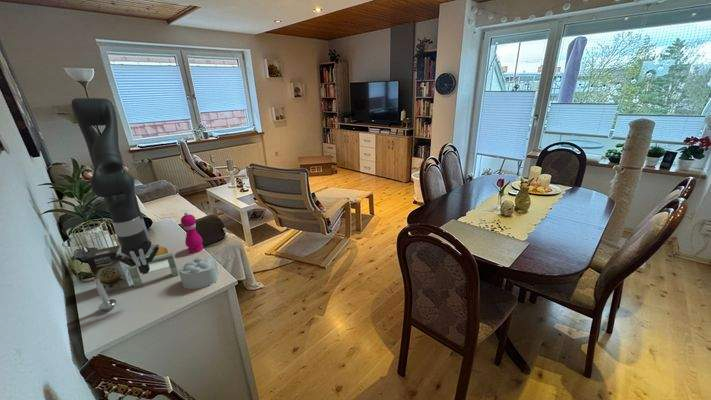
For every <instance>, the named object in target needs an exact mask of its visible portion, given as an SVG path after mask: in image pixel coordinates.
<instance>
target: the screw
mask: <svg viewBox="0 0 711 400" xmlns="http://www.w3.org/2000/svg"><path fill="white" fill-rule="evenodd" d="M93 282H94V283H95V285H96V286H95V287H96V290H97V292H98V295H99V296H100V299H101V302H102V303H101V304H100V305H99V306H98V309H99V310H104V311H105V312H110V311H111V310H113V309H114V308H115V305H116V304H117V300H116V299H113V298H112V299H110V298H109V296H108V294H107V293H108V292H106V291H105V289H104V286H103V285H102V284H101V282H100V280H99V279H95V278H94V280H93Z"/></svg>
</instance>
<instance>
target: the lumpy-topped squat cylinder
mask: <svg viewBox="0 0 711 400" xmlns="http://www.w3.org/2000/svg"><path fill="white" fill-rule="evenodd" d="M178 271H179V277H180V280H181V283H182V285H183V287H184V288H185V289H188V290H197V289H202V288H206V287H205V286H207V287H209V286H208V285H210V286H212V285H211V284H213V283H215V282H216V281H217V279H218V277H219V275H218V273H219V274H220V272H219V268H218V264H217V260H216V258H215V257H210V256H209V257H202V256H198V257H196V258H195V259H194V260H191V261H187V262H186V263H185V264H184V265H181V267H179V269H178ZM217 276H218V277H217ZM218 280H219V279H218ZM217 282H218V281H217ZM217 282H216V283H217ZM216 283H215V284H216ZM213 285H214V284H213Z"/></svg>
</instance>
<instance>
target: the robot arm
mask: <svg viewBox="0 0 711 400" xmlns="http://www.w3.org/2000/svg"><path fill="white" fill-rule="evenodd" d="M71 108H72V112H73V115H74V118H75V120H76V122H77V125H78V126H79V129H80V131H81V134H82V136H83V138H84V141H85V143H86V147H87V150H88V153H89V157H90V160H91V163H92V166H93V172H92V175H91V178H90V179H91V180H90V188H91V191H92V193H93V194H94V195H95V196H97V197H98V198H103V199H104V203H105V205H106V207H107V211H108V213H109V217H110V218H111V221H112V224H113V229H114V234H116V237H117V241H118V242H119V245H120V248H121V252H120V253H119V254H117V256H116V260H118V261H120V262H122V263H125V264H126V265H127V266H128V265H129V266H131V267H132V266H138V267H137V270H138V272H139V274H142V273H143V274H142V275H147V274H149V273H150V272H149V270H150V267H149V264H148V262H151V261H152V260H153V258H154V257H155V255H156V253H157V252H158V250H159V247H160V245H159V244H152V241H151V238H150V235H149V232H148V229H147V226H146V224H145V220H144V217H143V214H142V212H141V209H140V205H139V202H138V198H137V193H136V191H135V179H134V177H133V175H132V174H130V172H127V171H123V169H124V167H125V166H124V165H125V164H124V161H123V158H122V153H121V151H120V146H119V127H118V117H117V112H116V109H115V106H114V103H113V102H112V101H111V100H110V99H108V98H102V97H101V98H100V97H92V98H91V97H77V98H73V99H72V100H71ZM94 126H96V127H97V126H99V127H100V126H101V127H102V126H105V127H104V129H103V131H102V132H101V133H100V134H99V132H97V131H96V130H95V128H94ZM148 255H149V256H148ZM147 256H148V257H147ZM141 260H142V261H141Z"/></svg>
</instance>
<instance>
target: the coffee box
mask: <svg viewBox="0 0 711 400" xmlns="http://www.w3.org/2000/svg"><path fill="white" fill-rule="evenodd" d="M120 252H121V245H120V244H119V245H118V244H117V245H114V246H110V247H104V248H100V249H94V250H90V252H89V253H88V254H87V256H86V258H85V260H86V261H87V264H88V266H89V268H90V271H91V273H92V275H93V277H94V280H95V279H99V280H100V282H101V284H102V285H103V286H104V289H105V291H106V293H109V292H112V291H116V290H121V289H123V288H128V287H130V285H131V281H132V278H131V276H130V273H129V271H128V268H127V266H128V265H127V264H125V263H122V262H120V261H118V260H116V256H117V254H119V253H120Z"/></svg>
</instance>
